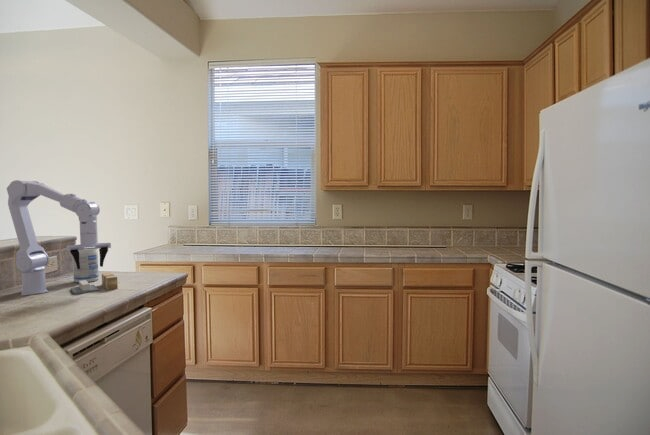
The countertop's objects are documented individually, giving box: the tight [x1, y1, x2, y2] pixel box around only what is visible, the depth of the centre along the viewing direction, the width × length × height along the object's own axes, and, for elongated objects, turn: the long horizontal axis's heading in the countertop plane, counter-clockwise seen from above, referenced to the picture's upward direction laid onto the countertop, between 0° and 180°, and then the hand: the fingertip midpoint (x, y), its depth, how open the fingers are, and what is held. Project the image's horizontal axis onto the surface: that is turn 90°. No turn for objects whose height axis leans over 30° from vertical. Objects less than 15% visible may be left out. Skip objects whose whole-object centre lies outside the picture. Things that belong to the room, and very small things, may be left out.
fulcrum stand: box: [70, 280, 99, 295], centre depth 150 cm, size 10×8×3 cm
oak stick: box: [101, 272, 118, 291], centre depth 156 cm, size 12×3×5 cm, turn 41°
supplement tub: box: [72, 247, 100, 284], centre depth 166 cm, size 10×10×15 cm
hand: (90, 267), depth 146 cm, fingers open, 7 cm apart
